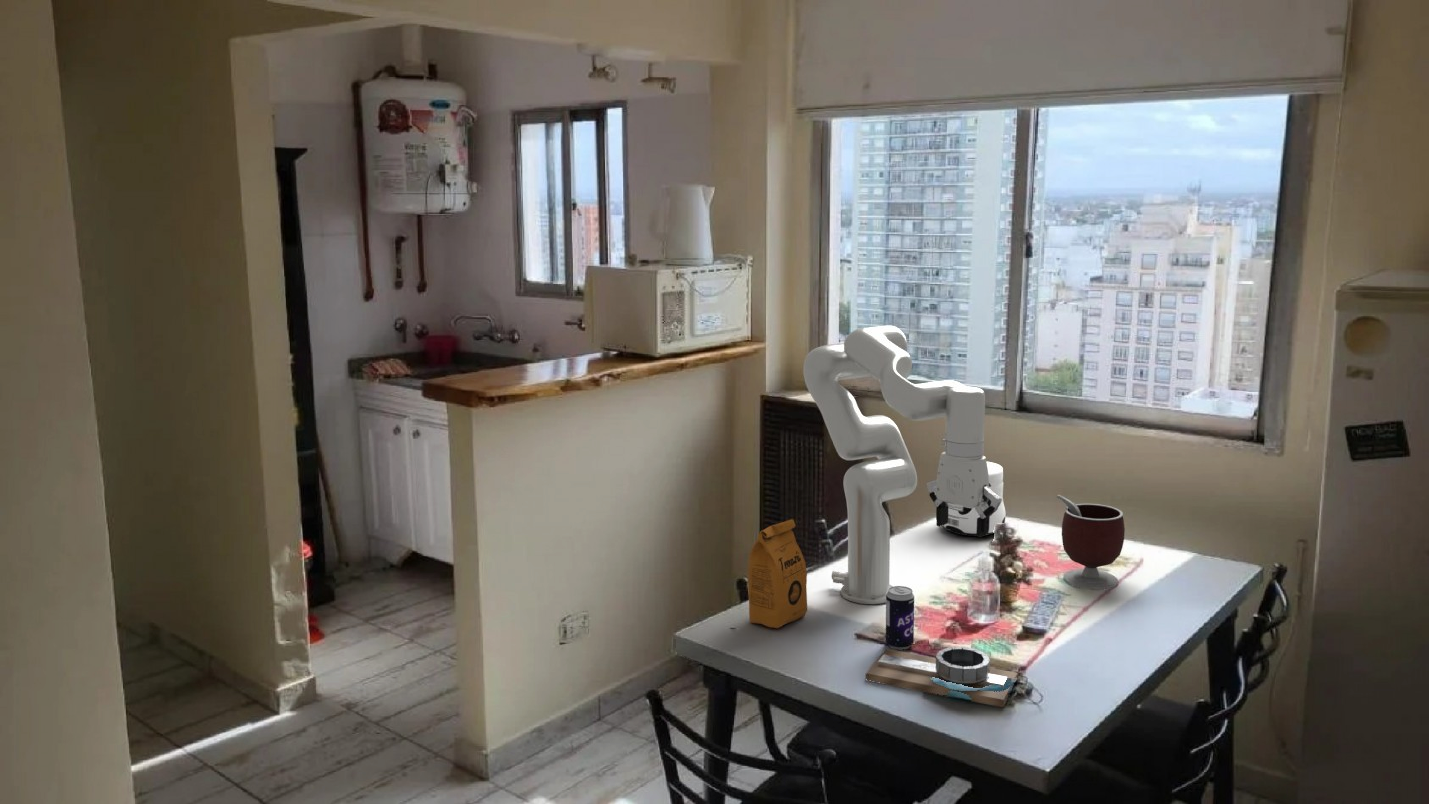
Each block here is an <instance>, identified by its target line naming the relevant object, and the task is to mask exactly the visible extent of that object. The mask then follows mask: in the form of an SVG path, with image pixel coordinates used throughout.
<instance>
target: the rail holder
mask: <svg viewBox="0 0 1429 804" xmlns="http://www.w3.org/2000/svg"><path fill="white" fill-rule="evenodd" d="M935 658H936V664H934V663H928V662H923V661H917V660H912V659H906V658H901V657H896V656H890V655H885V654H884V655H883V656H882V657H881V658H880V660H879V661H878V665H880V666H885V667H890V668H896V669H901V670H906V671H911V672H917V673H922V674H927V675H933V676H938V677H941V678H942V679H944V680H946V681H949V682H952V683H956V684H966V685H967V684H980V685H985V686H989V685H993V684H994V685H995V684H998V685H1000V686H1001V687H1004V684H1005V682H1006V680H1007V677H1004V676H999V675H993V674H989V672H990V668H991V659H990V657H989V656H988V655H987V653H985V652H983V651H981V650H980V649H977V648H972V647H966V646H948V647H946V648H943V649H940V650H938V652H937V653H936V655H935Z"/></svg>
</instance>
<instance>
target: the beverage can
mask: <svg viewBox="0 0 1429 804" xmlns="http://www.w3.org/2000/svg"><path fill="white" fill-rule="evenodd" d="M914 637H915V595H914V593H913V590H912V588H910V587H908V586H903V585H894V586H893V587H891V588H889V589H888V593H887V595H886V602H885V642H886V644H887V645H888V646H889V647H890V648H891V649H892V650H896V651H901V650H902V651H903V649H904V650H908V649H909V648H910V647H911V646H912V645H914V644H915V643H914V642H915V640H914V639H915V638H914Z"/></svg>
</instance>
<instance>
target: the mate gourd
mask: <svg viewBox="0 0 1429 804" xmlns="http://www.w3.org/2000/svg"><path fill="white" fill-rule="evenodd" d="M1056 498H1057V499H1059V500H1061V501H1062V502H1063V503H1064V504H1065V505H1066V507H1065V509H1064V514H1063V518H1062V523H1061V541H1062V546H1063V547H1062V548H1063V550H1064V551H1065V553H1066V555H1067V556H1068V557H1069V559H1070V560H1071V561H1073V562H1074V563H1076V564H1079V565H1082V566H1084V568H1081V569H1080V568H1079V569H1071V570H1069V571H1066V572H1064V574H1063V576H1062V577H1063V581H1064V582H1065V584H1067V583H1068V584H1067V585H1069V586H1072V587H1074V588H1079V589H1082V590H1088V589H1090V591H1107V590H1112V589H1114V588H1116V587H1118V585H1119V579H1118V577H1117V576H1115V575H1113V574H1111V573H1108V572H1106V571H1102V570H1098V568H1101V567H1105V566H1109V565H1112V564H1113V563H1114V562H1115V561H1116V560H1117V558H1119V557H1120V555H1121V553H1122V550H1123V548H1124V547H1123V546H1124V542H1125V532H1126V530H1125V529H1126V528H1125V519H1124V513H1123V511H1122V510H1121V509H1119V508H1116V507H1113V506H1110V505H1105V504H1099V503H1078V504H1077V503H1074V502H1073V501H1071V500H1070V499H1068V498H1066V497H1065V496H1063V495H1061V494H1057V495H1056ZM1104 589H1105V590H1104ZM1106 589H1107V590H1106Z"/></svg>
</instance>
